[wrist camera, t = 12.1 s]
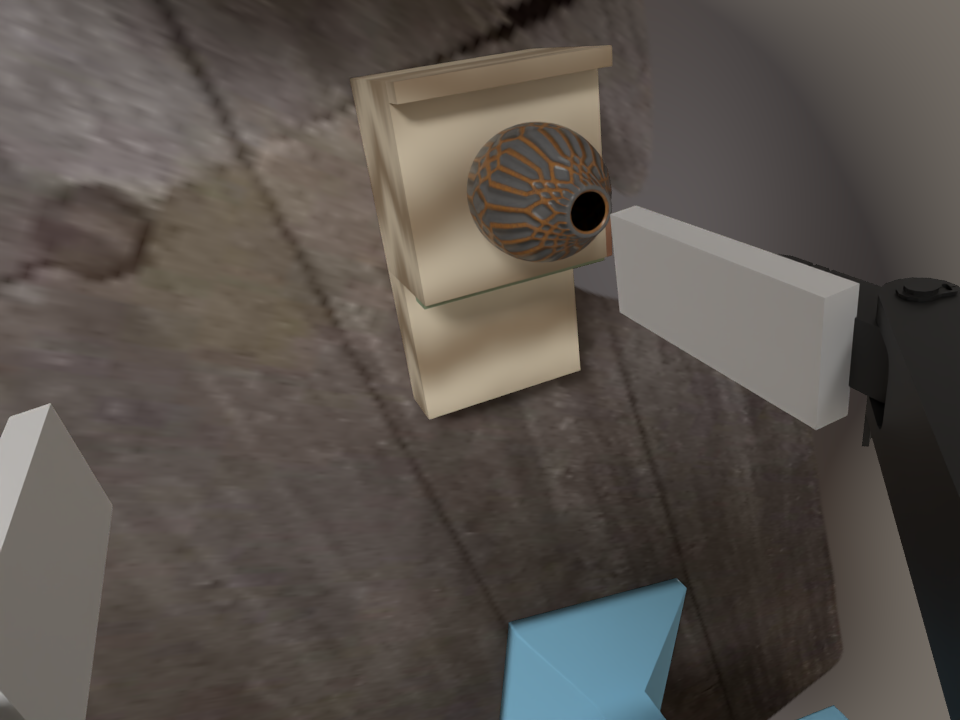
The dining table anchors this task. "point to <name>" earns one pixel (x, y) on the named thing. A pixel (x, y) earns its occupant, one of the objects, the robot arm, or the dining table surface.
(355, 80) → the stepped riser
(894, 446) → the robot arm
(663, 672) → the vase
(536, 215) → the vase
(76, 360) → the dining table surface
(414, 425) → the dining table surface
